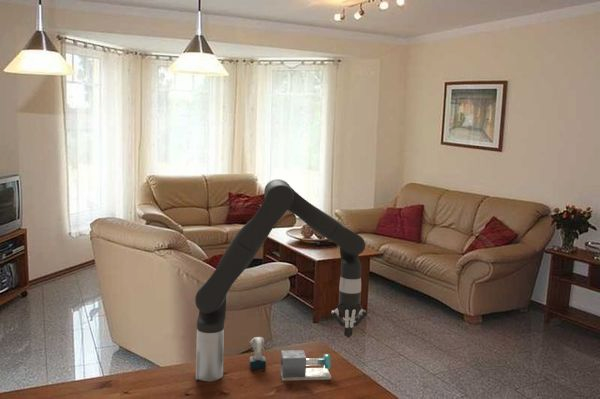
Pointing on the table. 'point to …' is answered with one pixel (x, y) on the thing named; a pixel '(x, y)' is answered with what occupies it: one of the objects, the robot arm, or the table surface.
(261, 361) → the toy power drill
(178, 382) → the table surface
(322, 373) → the shaft housing
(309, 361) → the shaft
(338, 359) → the table surface
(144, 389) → the table surface
